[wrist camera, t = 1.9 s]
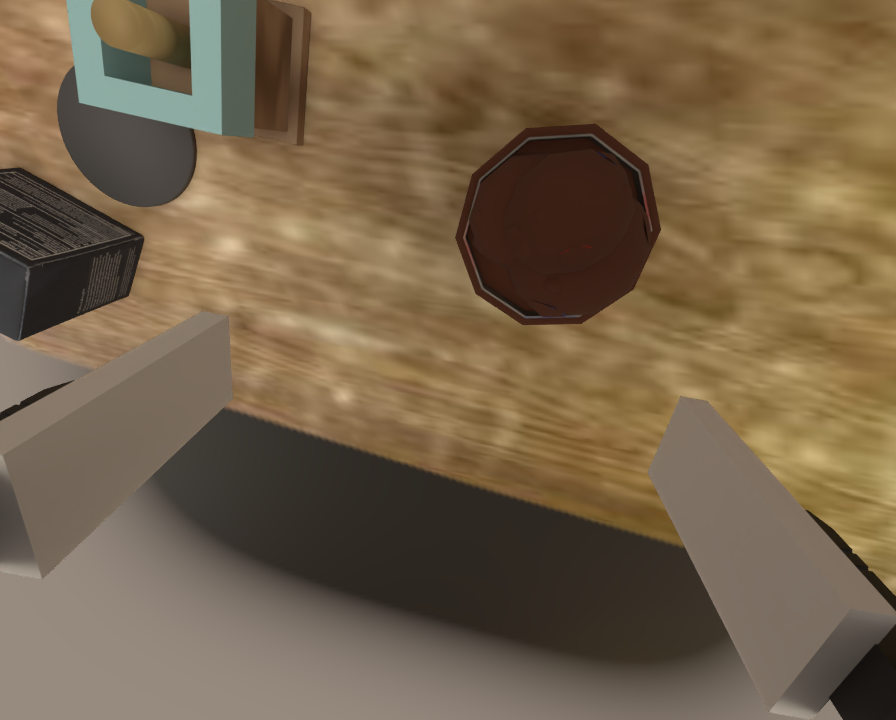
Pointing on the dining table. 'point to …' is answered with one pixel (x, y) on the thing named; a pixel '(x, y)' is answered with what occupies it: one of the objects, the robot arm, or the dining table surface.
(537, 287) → the ice cream bowl
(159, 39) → the stand
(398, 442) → the dining table surface
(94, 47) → the c link
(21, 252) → the small box
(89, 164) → the coaster
